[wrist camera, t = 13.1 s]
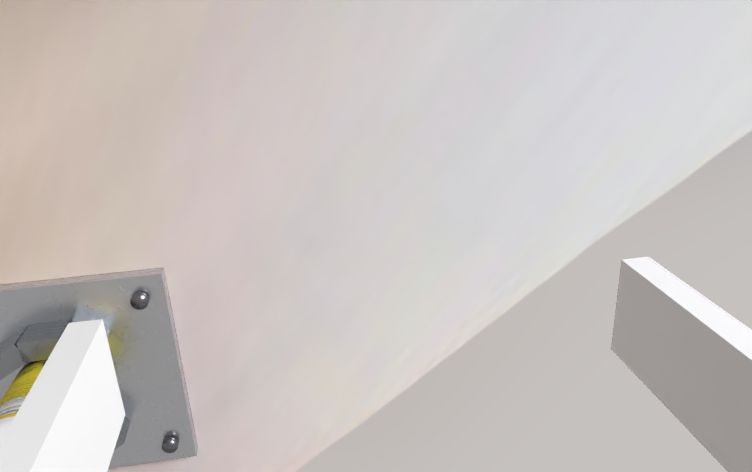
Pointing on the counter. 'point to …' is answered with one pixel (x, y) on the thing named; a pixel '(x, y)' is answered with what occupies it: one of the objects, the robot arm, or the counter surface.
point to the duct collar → (127, 346)
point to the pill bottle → (18, 393)
